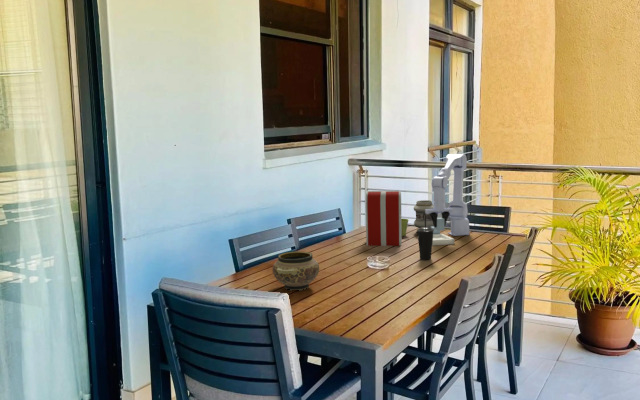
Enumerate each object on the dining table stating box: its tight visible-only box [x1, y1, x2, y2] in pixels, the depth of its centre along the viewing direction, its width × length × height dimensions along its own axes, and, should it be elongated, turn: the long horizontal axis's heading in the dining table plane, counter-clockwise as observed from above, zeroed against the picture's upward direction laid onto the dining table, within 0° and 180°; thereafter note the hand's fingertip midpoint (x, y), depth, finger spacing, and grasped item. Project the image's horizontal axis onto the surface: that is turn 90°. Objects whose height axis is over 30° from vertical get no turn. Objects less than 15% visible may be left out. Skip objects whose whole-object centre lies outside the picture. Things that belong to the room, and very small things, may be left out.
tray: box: [432, 233, 455, 247], centre depth 306 cm, size 12×15×2 cm
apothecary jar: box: [413, 199, 434, 235], centre depth 330 cm, size 12×12×18 cm
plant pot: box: [401, 218, 410, 237], centre depth 326 cm, size 9×9×9 cm
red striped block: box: [365, 190, 403, 247], centre depth 307 cm, size 17×18×27 cm
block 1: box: [434, 217, 446, 232], centre depth 303 cm, size 4×4×6 cm
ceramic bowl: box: [272, 251, 320, 291], centre depth 228 cm, size 24×18×15 cm
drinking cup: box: [416, 216, 434, 261], centre depth 268 cm, size 8×8×20 cm
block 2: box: [430, 226, 441, 234], centre depth 316 cm, size 4×4×6 cm
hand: (439, 226), depth 302 cm, fingers closed on block 1, 4 cm apart
